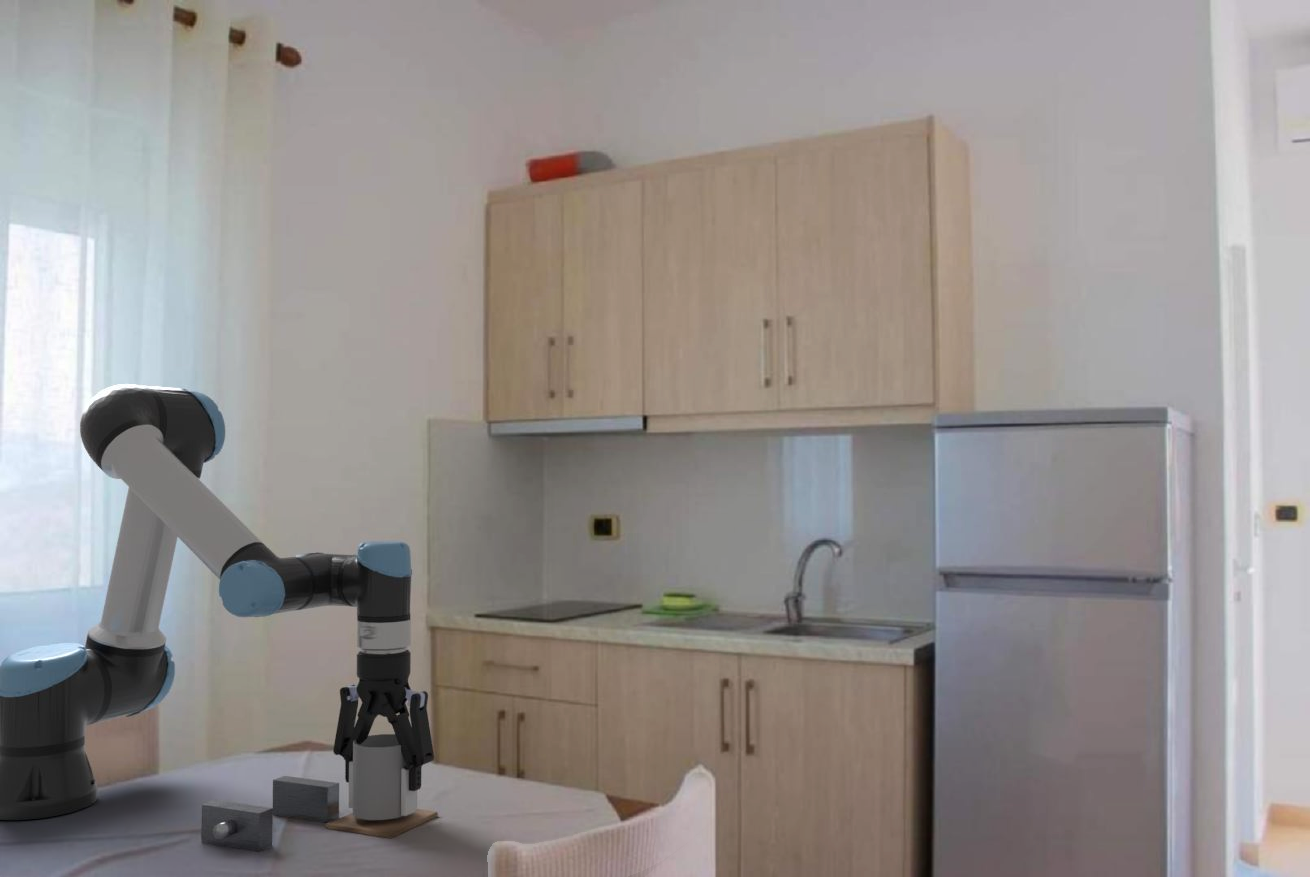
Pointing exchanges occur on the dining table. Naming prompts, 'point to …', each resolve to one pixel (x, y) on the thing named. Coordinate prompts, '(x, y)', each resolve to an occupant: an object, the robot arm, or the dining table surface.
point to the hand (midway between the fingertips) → (382, 809)
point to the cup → (377, 777)
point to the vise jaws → (268, 813)
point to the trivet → (382, 824)
